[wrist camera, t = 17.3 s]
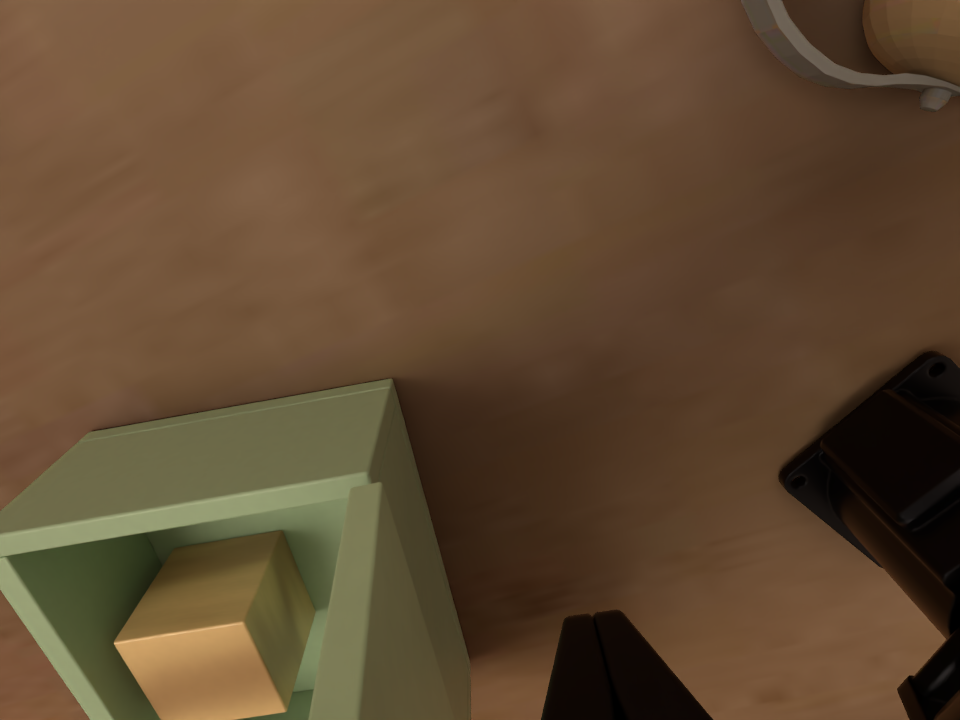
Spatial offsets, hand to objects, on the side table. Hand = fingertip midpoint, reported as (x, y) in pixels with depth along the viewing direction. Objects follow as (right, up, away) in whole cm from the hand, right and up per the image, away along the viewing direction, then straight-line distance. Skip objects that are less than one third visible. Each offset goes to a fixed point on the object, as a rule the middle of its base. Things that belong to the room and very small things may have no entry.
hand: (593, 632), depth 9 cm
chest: (-8, -3, +13) cm, 16 cm away
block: (-10, -4, +13) cm, 17 cm away
